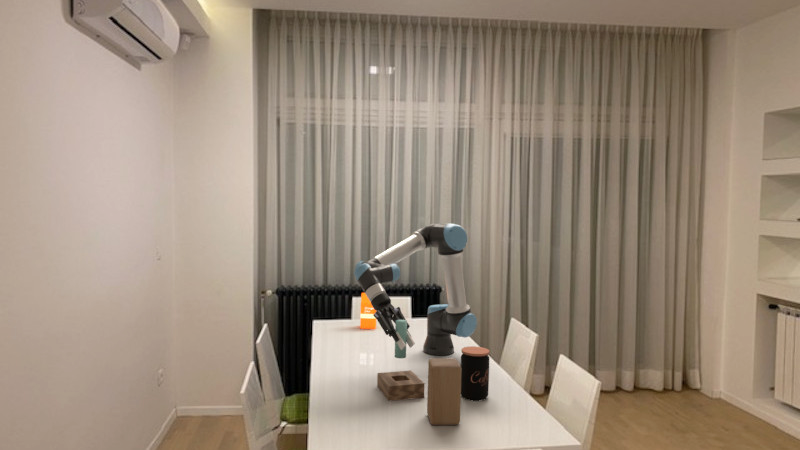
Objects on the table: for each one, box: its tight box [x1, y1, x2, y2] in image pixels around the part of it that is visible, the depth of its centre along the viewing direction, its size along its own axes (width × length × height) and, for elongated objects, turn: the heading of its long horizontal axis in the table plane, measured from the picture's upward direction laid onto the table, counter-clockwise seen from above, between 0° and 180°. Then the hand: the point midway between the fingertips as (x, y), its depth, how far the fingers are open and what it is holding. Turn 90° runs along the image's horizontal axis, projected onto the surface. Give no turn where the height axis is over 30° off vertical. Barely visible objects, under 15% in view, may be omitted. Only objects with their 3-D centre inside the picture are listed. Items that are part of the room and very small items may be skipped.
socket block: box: [376, 370, 425, 402], centre depth 216 cm, size 14×16×6 cm
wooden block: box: [426, 358, 462, 426], centre depth 189 cm, size 10×10×20 cm
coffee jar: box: [460, 346, 490, 402], centre depth 213 cm, size 11×11×18 cm
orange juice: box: [359, 292, 377, 330], centre depth 323 cm, size 8×9×20 cm
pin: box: [394, 320, 408, 359], centre depth 215 cm, size 4×4×14 cm
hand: (408, 346), depth 213 cm, fingers closed on pin, 4 cm apart
